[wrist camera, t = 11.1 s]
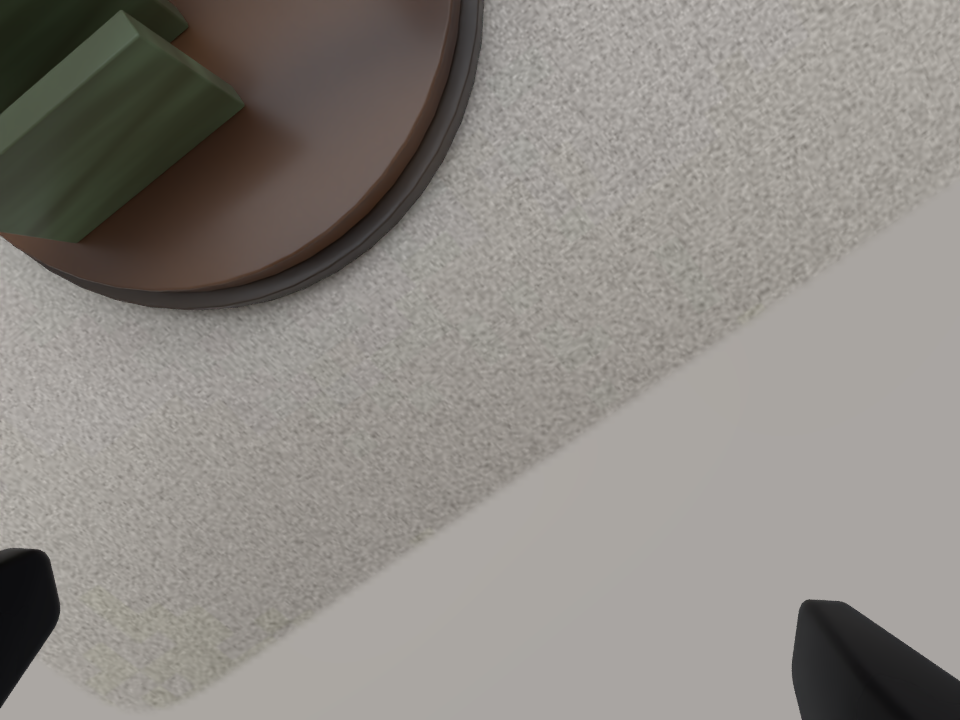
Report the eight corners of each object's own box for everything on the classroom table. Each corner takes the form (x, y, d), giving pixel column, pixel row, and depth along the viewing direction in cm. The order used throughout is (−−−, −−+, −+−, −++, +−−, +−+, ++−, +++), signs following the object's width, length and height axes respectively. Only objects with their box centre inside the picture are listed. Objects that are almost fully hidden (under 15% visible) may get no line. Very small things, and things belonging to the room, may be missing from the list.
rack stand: (483, 309, 21) (479, 309, 20) (-51, 310, 23) (-79, 309, 22) (484, -321, 20) (480, -355, 19) (-78, -258, 22) (-109, -285, 21)
